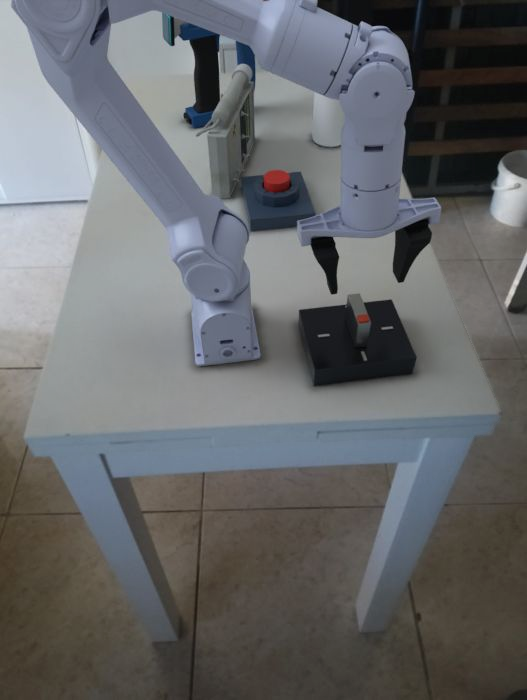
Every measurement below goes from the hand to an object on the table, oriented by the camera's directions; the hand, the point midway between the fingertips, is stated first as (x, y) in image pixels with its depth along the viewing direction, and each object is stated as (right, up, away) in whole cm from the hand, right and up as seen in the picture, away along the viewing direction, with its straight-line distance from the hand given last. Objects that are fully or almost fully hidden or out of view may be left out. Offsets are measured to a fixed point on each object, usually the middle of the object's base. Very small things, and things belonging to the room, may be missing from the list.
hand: (365, 282), depth 65 cm
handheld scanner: (-21, +38, +47) cm, 64 cm away
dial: (-1, -5, +4) cm, 7 cm away
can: (+1, +31, +41) cm, 52 cm away
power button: (-10, +18, +24) cm, 32 cm away
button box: (-9, +15, +27) cm, 33 cm away
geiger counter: (-17, +26, +37) cm, 48 cm away
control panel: (0, -8, +6) cm, 10 cm away
